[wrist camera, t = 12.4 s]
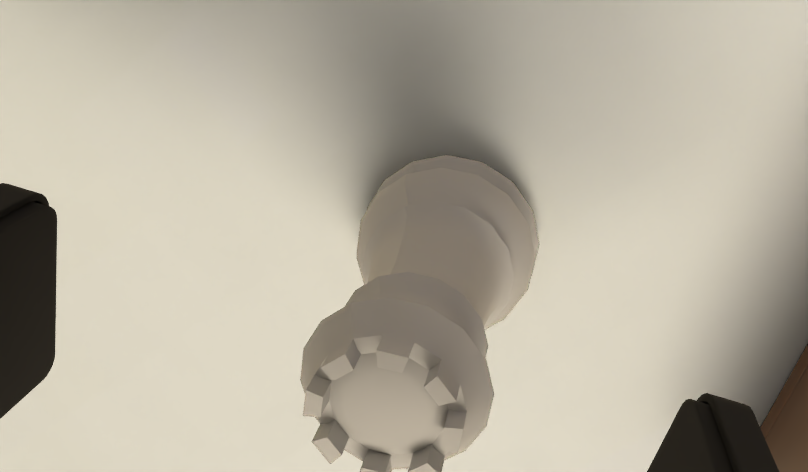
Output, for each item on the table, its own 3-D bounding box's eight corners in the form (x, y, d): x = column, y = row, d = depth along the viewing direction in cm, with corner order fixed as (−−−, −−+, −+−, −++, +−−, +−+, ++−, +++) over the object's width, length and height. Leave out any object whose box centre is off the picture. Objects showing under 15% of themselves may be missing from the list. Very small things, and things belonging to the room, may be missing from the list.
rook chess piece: (338, 187, 18) (194, 342, 11) (498, 121, 17) (456, 247, 9) (410, 331, 19) (323, 558, 12) (565, 281, 18) (574, 505, 11)
